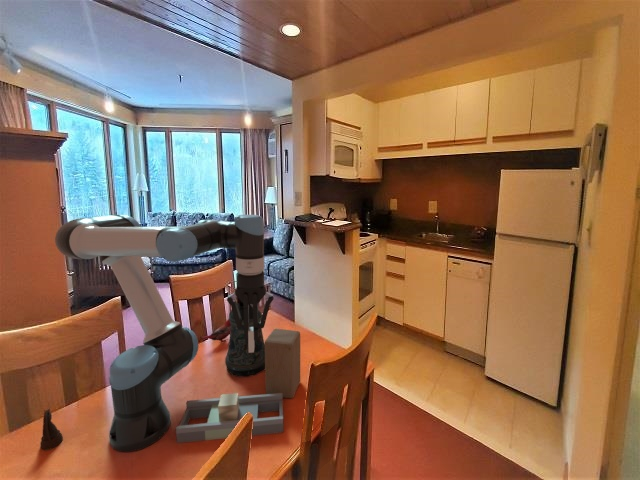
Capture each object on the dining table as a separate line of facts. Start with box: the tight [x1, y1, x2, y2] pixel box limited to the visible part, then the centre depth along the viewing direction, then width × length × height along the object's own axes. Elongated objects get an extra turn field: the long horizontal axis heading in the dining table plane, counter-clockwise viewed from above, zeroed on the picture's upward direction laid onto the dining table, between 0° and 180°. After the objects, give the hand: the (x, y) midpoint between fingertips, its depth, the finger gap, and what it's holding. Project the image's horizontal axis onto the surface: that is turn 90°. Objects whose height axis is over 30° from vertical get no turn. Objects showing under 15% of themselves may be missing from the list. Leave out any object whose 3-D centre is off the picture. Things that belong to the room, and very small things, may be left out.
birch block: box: [218, 392, 239, 422], centre depth 91 cm, size 5×5×5 cm
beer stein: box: [224, 301, 265, 378], centre depth 119 cm, size 16×19×25 cm
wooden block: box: [264, 328, 301, 399], centre depth 105 cm, size 10×10×20 cm
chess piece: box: [40, 407, 64, 451], centre depth 83 cm, size 5×5×10 cm
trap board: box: [175, 393, 284, 444], centre depth 91 cm, size 29×11×4 cm, turn 98°
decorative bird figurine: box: [199, 318, 231, 344], centre depth 135 cm, size 3×18×10 cm, turn 139°
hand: (251, 349), depth 89 cm, fingers closed
